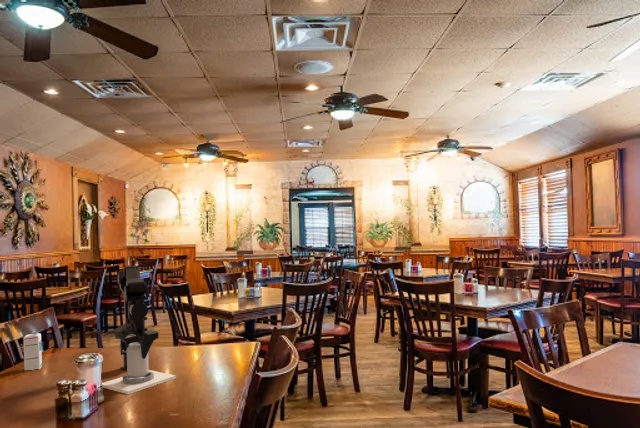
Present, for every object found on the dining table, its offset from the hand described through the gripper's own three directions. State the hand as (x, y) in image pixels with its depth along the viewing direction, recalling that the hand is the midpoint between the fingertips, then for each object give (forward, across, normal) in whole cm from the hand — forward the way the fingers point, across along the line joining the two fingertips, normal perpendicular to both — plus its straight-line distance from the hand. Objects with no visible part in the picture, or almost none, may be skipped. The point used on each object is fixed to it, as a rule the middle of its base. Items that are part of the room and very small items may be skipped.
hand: (137, 357), depth 177 cm
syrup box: (+10, -60, -10) cm, 62 cm away
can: (+7, 0, 0) cm, 7 cm away
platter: (+9, 0, 0) cm, 9 cm away
